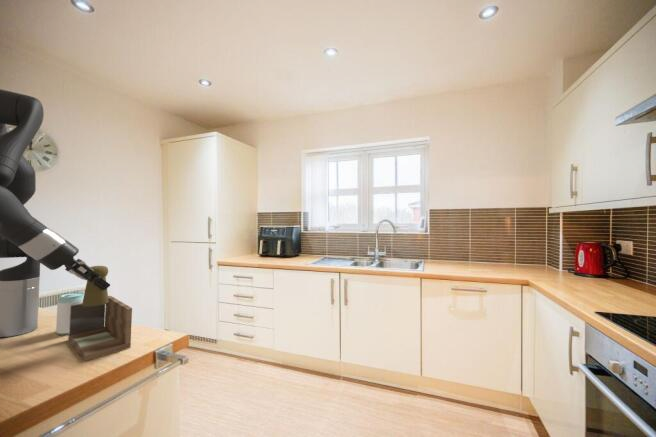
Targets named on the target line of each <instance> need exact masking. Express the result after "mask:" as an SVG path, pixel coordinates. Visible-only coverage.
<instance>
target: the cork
mask: <svg viewBox="0 0 656 437" xmlns="http://www.w3.org/2000/svg"><path fill="white" fill-rule="evenodd" d="M90 267H91V268H92V269H93V270H94V272H95V273H97V274H99V275H100V278H102V279H103V280H105V281H106V282H107V278H106V277H107V276H108V274H109V268H108V267H107V266H105V265H93V266H90ZM93 276H94V275H93V274H91V275H90V276H89V277H88V278H89V279H91V278H92V277H93ZM108 296H109V293H108V288H107V289H106V290H102V289H100V288H99V287H97V286H96V285H94V284H92V283H90V282H89V281H88V280H86V285H85V289H84V298H83V303H82V306H98V305H103V304H105V305H106V303H108V302H109V300H108Z"/></svg>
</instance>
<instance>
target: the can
mask: <svg viewBox="0 0 656 437" xmlns="http://www.w3.org/2000/svg"><path fill="white" fill-rule="evenodd" d="M84 294H85V292H69V293H66V294H61V295H60V298H59V299H58V300H57V303H56V304H57V306H56V325H55V326H56V327H55V328H56V330H55V332H56V333H57V334H59V335H62V334H63V335H64V334H66V335H69V331H70V309H71V305H75V304H81V303H83V298H84Z"/></svg>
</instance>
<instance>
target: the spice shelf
mask: <svg viewBox="0 0 656 437" xmlns="http://www.w3.org/2000/svg"><path fill="white" fill-rule="evenodd" d="M108 300H109V302H108V303H106V304H103V305H98V306H82V303H81V304H75V305H71V309H70V331H69V334H67V336H68V337H67V339H68V342H69V343H70V344H71V345H72V347H73V348H74V349H75V350H76V352H77V353H78V354H79V355H80V357H81V358H82V359H83V361H85V362H88V361H90V360H94V359H97V358H100V357H101V358H102V357H105V356H107V355H108V356H109V355H110V354H114V353H118V352H121V351H125V350H128V349H131V343H132V342H131V341H132V322H133V321H132V319H133V318H132V317H133V307H131V306H130V305H127V304H126V303H124V302H123V301H121V300H119V299H117V298H116V297H114V296H111V295H108Z"/></svg>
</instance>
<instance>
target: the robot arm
mask: <svg viewBox="0 0 656 437" xmlns="http://www.w3.org/2000/svg"><path fill="white" fill-rule="evenodd" d="M43 121H44V108H43V104H42V102H41V101H40V100H39V98H36V97H34V96H31V95H27V94H23V93H18V92H14V91H10V90H4V89H2V88H1V89H0V259H2V258H3V259H6V258H7V259H9V258H26V259H25V260H24V261H23V262H22V263H19V264H17V265H13V266H11V267H8V268H4V269H0V338H3V337H4V338H7V337H15V336H20V335H23V334H27V333H30V332H33V331H35V330H37V329H38V321H39V304H40V303H39V301H40V300H39V299H40V298H39V297H40V279H41V278H40V277H41V275H40V274H41V264H42V265H43V266H45V267H46V268H47V269H49V270H51V271H54V270H57V269H59V268H61V267H63V266H64V267H65V269H64V270H65V271H66V272H68V273H70V274H72V275H74V276H76V277H77V278H79V279H81V280H83V281H87V280H88V281H89V282H90V283H92V284H94V285H96V286H97V287H99V288H100V289H102V290H106V289H107V290H108V288H110V286H111V284H110V283H109V282H107V280H106V281H105V280H103V279H102V278H100V275H99V274H97V273H95V272H94V270H93V269H92V268H91V267H92V266H89V265H88V264H86V262H85V261H83V260H82V259H80V258H77V259H75V258H74V257H75V256H77V255H78V253H79V251H80V250H79V248H78V247H76V246H75V245H74V244H73V243H71V242H69V240H67V238H64V237H63V236H61V235H60V234H59V233H58V232H56V231H54V230H53V229H50V228H49V227H47V226H46V225H45V224H43V223H42V222H41V221H40V220H38V219H37V218H35V217H34V216H32V215H31V213H30V212H29V211H28V209H27V208H26V206H25V204H26V203H28V202H29V201H30V200H31V199H32V197H33V196H34V195H35V193H36V190H37V188H36V171H35V168H34V167H33V165H32V164H31V163H30V162H29V161H28V159H27V158H26V157H25V156H24V153H25V152H26V150H27V148H28V147H29V145H30V144H31V143H32V141H33V139H34V138H35V136H36V134H37V133H38V131H39V130H40V128H41V127H42V124H43ZM6 125H8V126H14V128H13V129H11V130H10V131H8V130H7V126H6ZM91 274H93V275H94V276H93V277H92V278H91V279H89V278H88V277H89V276H90V275H91Z"/></svg>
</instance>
